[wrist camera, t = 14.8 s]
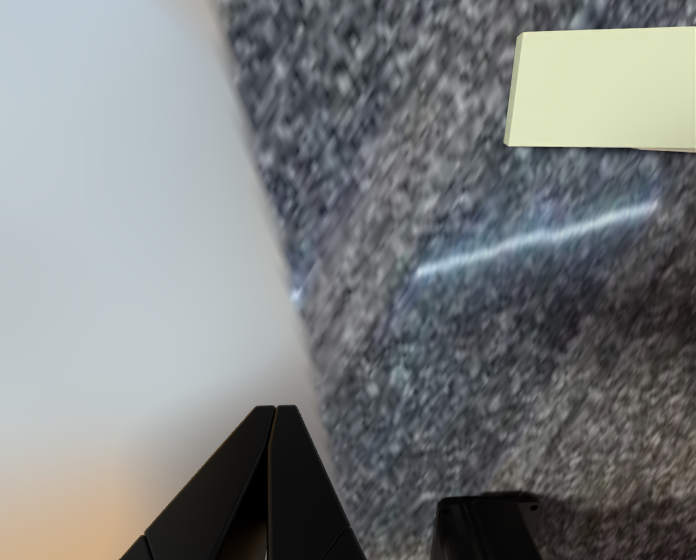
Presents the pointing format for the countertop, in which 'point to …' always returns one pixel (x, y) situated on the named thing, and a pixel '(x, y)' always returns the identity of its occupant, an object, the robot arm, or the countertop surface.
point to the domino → (604, 89)
